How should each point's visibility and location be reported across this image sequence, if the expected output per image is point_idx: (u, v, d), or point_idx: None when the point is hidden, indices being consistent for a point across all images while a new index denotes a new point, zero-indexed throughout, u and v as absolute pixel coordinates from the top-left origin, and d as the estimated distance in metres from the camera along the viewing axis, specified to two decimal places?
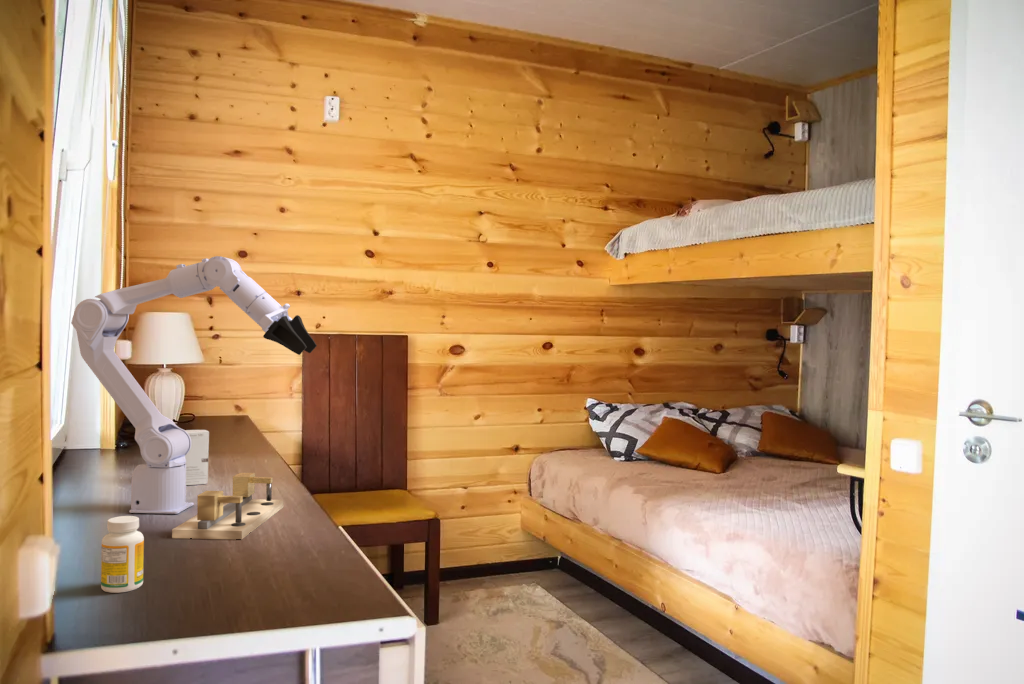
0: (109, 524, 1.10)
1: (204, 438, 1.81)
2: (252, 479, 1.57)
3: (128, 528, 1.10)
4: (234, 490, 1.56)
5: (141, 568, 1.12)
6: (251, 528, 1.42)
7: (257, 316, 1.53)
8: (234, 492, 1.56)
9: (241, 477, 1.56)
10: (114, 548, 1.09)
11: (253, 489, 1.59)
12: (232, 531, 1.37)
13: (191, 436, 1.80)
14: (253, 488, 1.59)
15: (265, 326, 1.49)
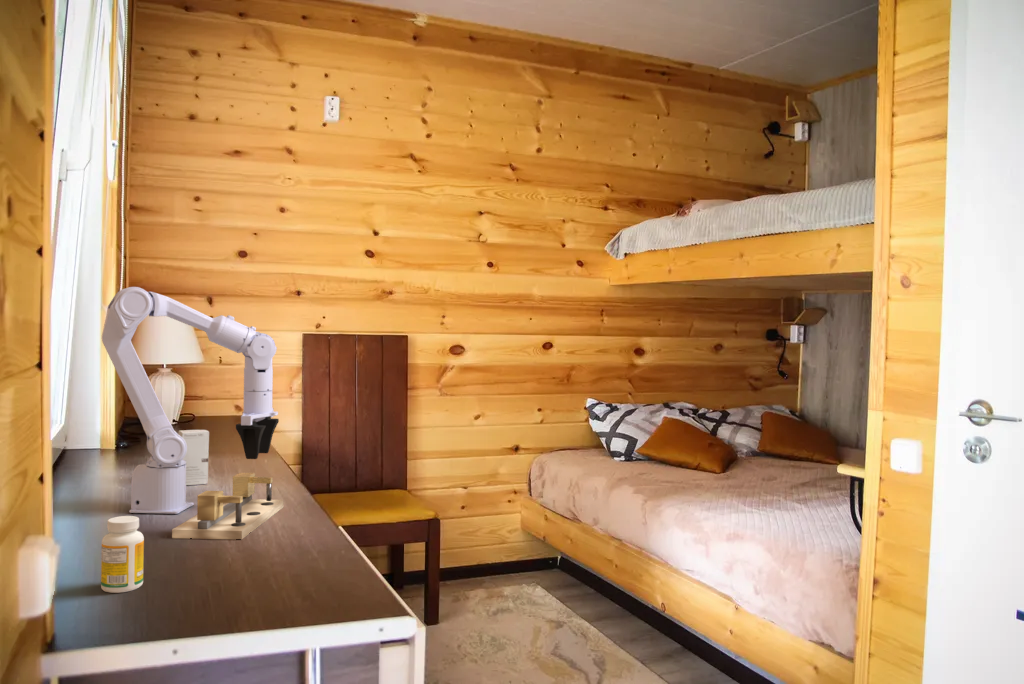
0: (109, 524, 1.10)
1: (204, 438, 1.81)
2: (252, 479, 1.57)
3: (128, 528, 1.10)
4: (234, 490, 1.56)
5: (141, 568, 1.12)
6: (251, 528, 1.42)
7: (247, 403, 1.63)
8: (234, 492, 1.56)
9: (241, 477, 1.56)
10: (114, 548, 1.09)
11: (253, 489, 1.59)
12: (232, 531, 1.37)
13: (191, 436, 1.80)
14: (253, 488, 1.59)
15: (242, 423, 1.58)
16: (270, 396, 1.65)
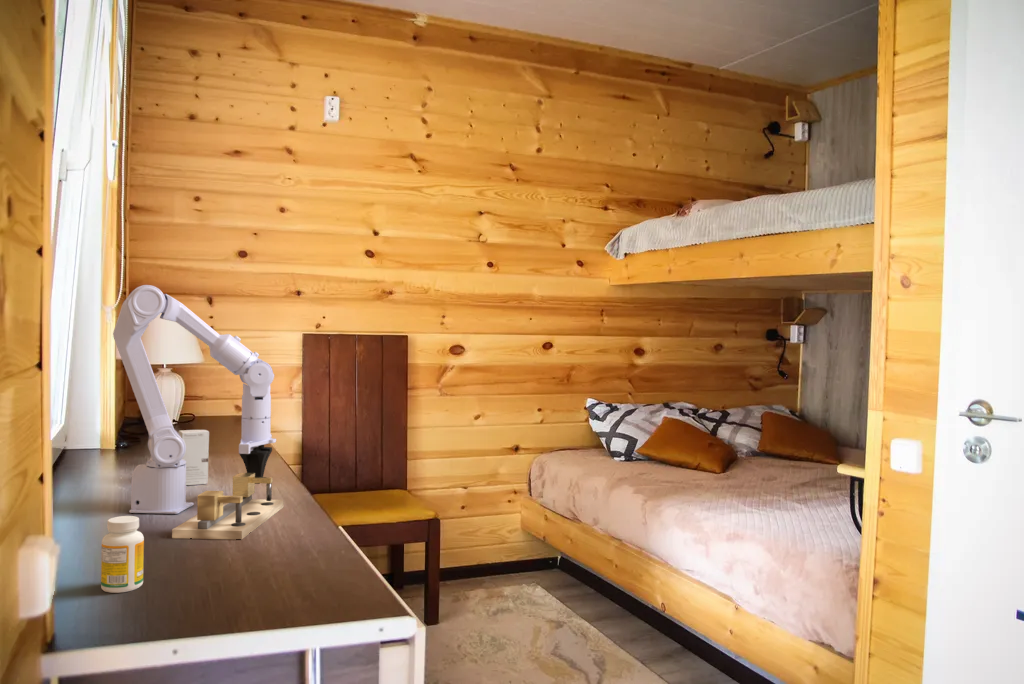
0: (109, 524, 1.10)
1: (204, 438, 1.81)
2: (252, 479, 1.57)
3: (128, 528, 1.10)
4: (234, 490, 1.56)
5: (141, 568, 1.12)
6: (251, 528, 1.42)
7: (245, 431, 1.62)
8: (234, 492, 1.56)
9: (241, 477, 1.56)
10: (114, 548, 1.09)
11: (253, 489, 1.59)
12: (232, 531, 1.37)
13: (191, 436, 1.80)
14: (253, 488, 1.59)
15: (240, 451, 1.57)
16: (268, 423, 1.64)
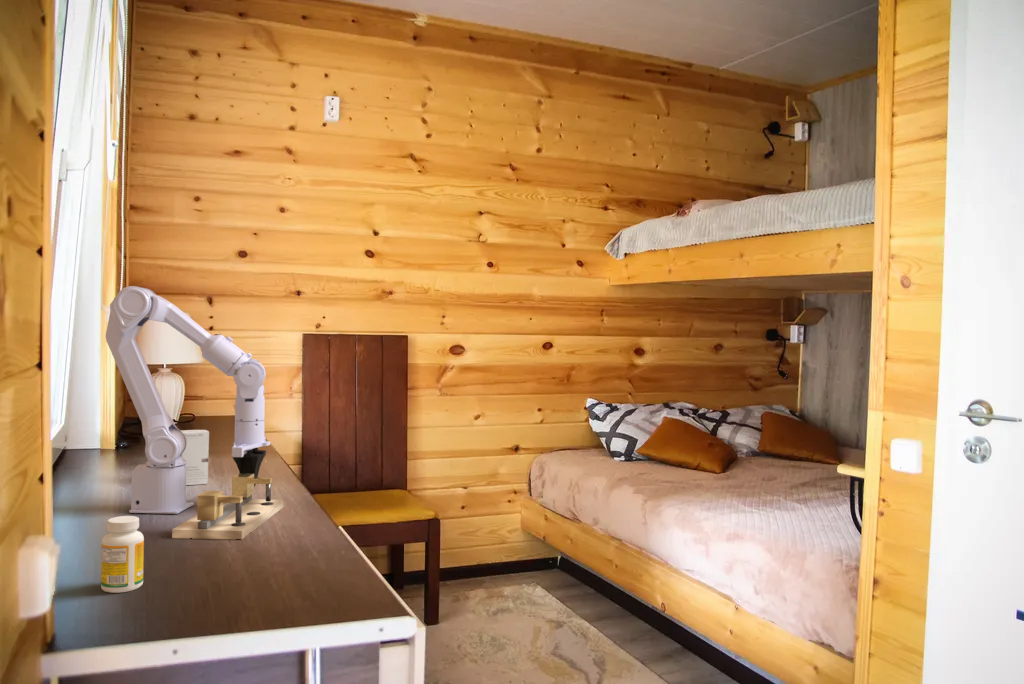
0: (109, 524, 1.10)
1: (204, 438, 1.81)
2: (251, 479, 1.57)
3: (128, 528, 1.10)
4: (233, 490, 1.55)
5: (141, 568, 1.12)
6: (251, 528, 1.42)
7: (238, 433, 1.58)
8: (233, 493, 1.55)
9: (240, 477, 1.55)
10: (114, 548, 1.09)
11: (252, 489, 1.59)
12: (232, 531, 1.37)
13: (191, 436, 1.80)
14: (252, 488, 1.59)
15: (233, 455, 1.53)
16: (262, 426, 1.60)
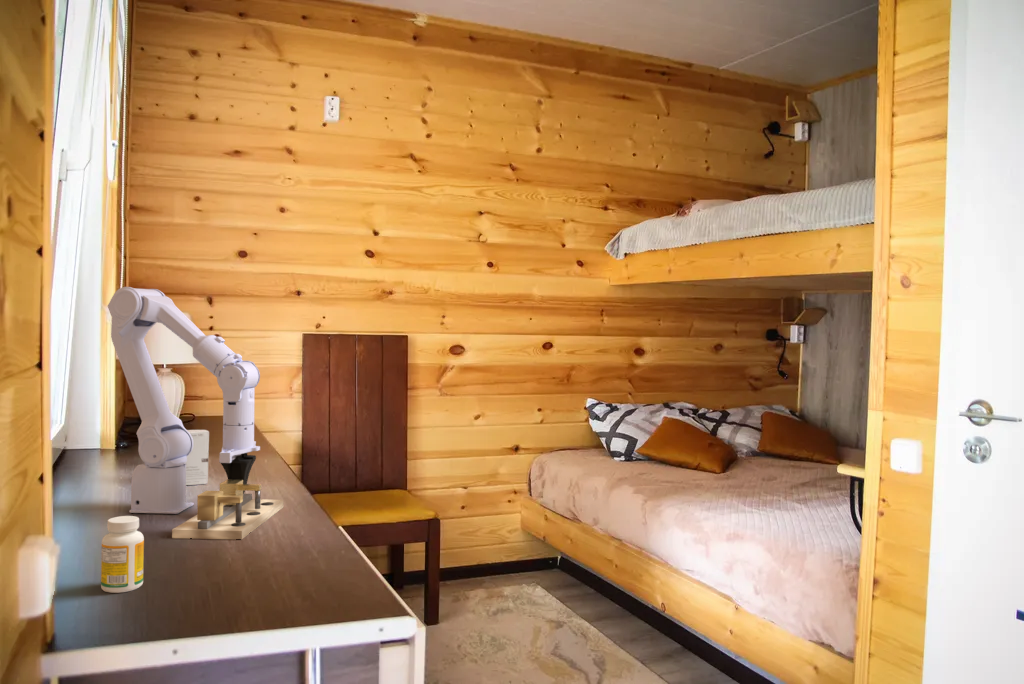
0: (109, 524, 1.10)
1: (204, 438, 1.81)
2: (240, 486, 1.50)
3: (128, 528, 1.10)
4: None
5: (141, 568, 1.12)
6: (251, 528, 1.42)
7: (227, 438, 1.52)
8: None
9: (228, 484, 1.49)
10: (114, 548, 1.09)
11: None
12: (232, 531, 1.37)
13: None
14: (241, 495, 1.52)
15: (221, 460, 1.47)
16: (251, 430, 1.54)
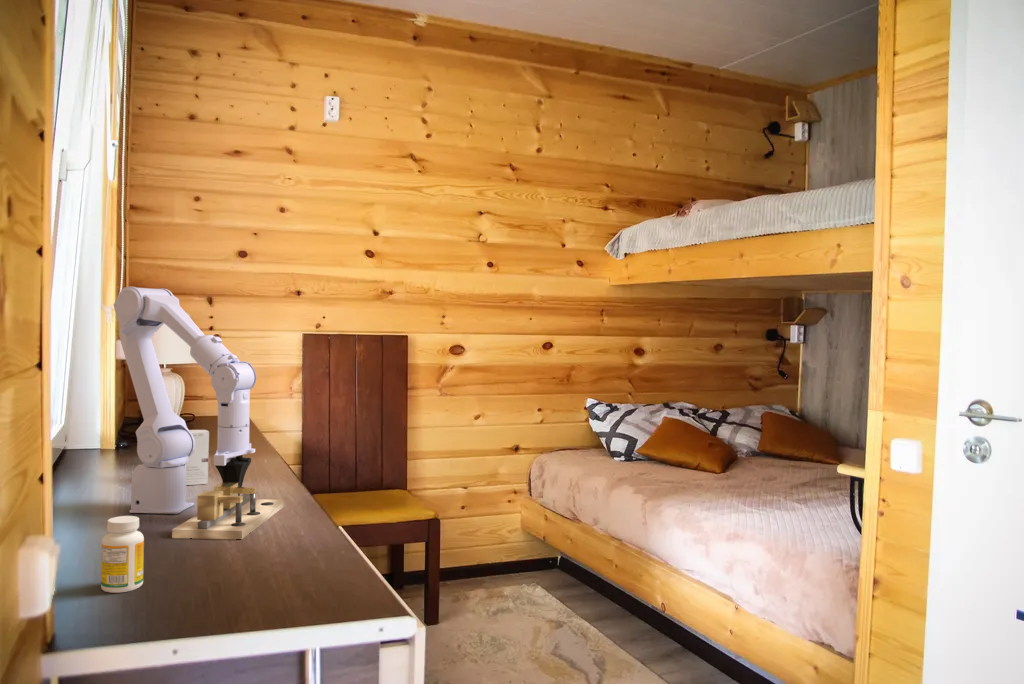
0: (109, 524, 1.10)
1: (204, 438, 1.81)
2: (235, 489, 1.48)
3: (128, 528, 1.10)
4: None
5: (141, 568, 1.12)
6: (251, 528, 1.42)
7: (221, 440, 1.49)
8: None
9: (223, 487, 1.46)
10: (114, 548, 1.09)
11: None
12: (232, 531, 1.37)
13: None
14: None
15: (215, 463, 1.44)
16: (246, 432, 1.51)
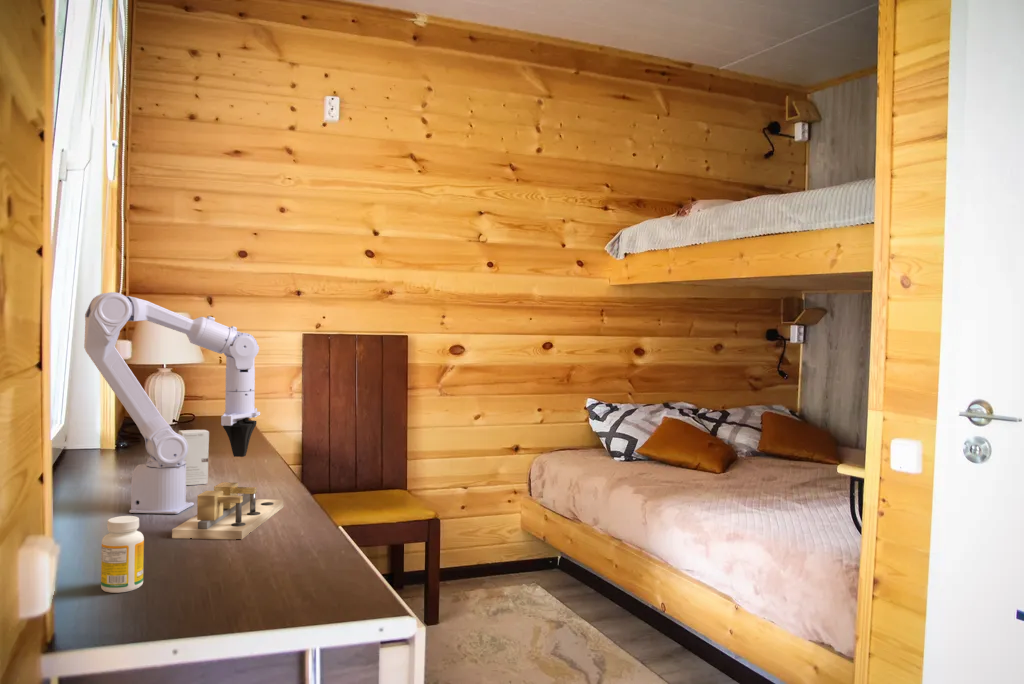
0: (109, 524, 1.10)
1: (204, 438, 1.81)
2: (235, 489, 1.48)
3: (128, 528, 1.10)
4: None
5: (141, 568, 1.12)
6: (251, 528, 1.42)
7: (229, 403, 1.62)
8: None
9: (223, 487, 1.46)
10: (114, 548, 1.09)
11: None
12: (232, 531, 1.37)
13: (191, 436, 1.80)
14: None
15: (223, 423, 1.57)
16: (252, 396, 1.64)
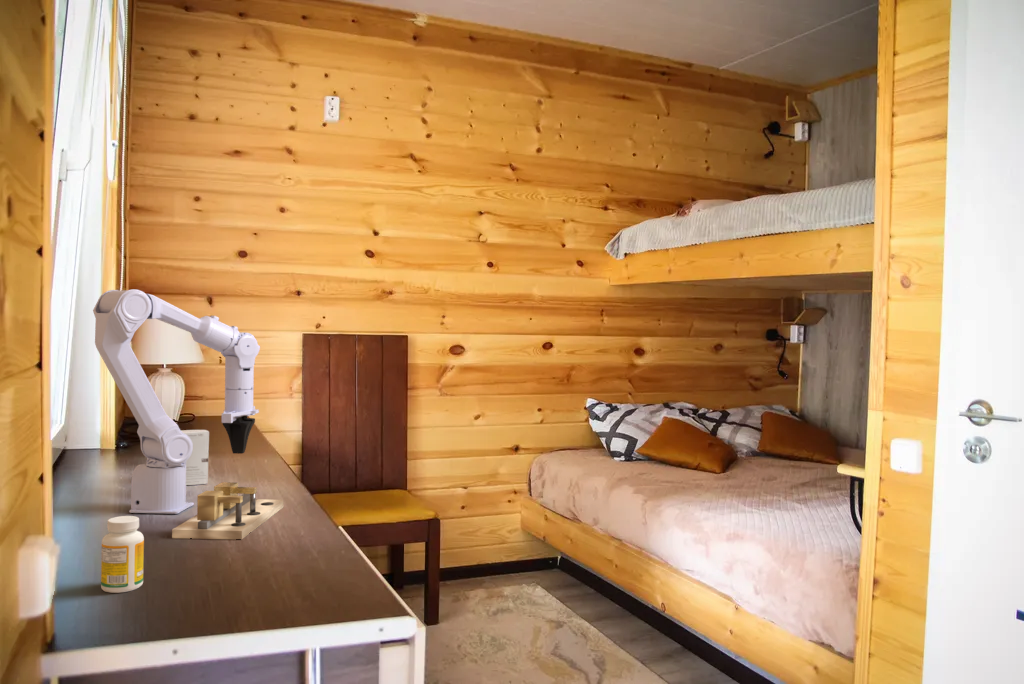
0: (109, 524, 1.10)
1: (204, 438, 1.81)
2: (235, 489, 1.48)
3: (128, 528, 1.10)
4: None
5: (141, 568, 1.12)
6: (251, 528, 1.42)
7: (228, 401, 1.66)
8: None
9: (223, 487, 1.46)
10: (114, 548, 1.09)
11: None
12: (232, 531, 1.37)
13: (191, 436, 1.80)
14: None
15: (223, 421, 1.61)
16: (251, 394, 1.68)
